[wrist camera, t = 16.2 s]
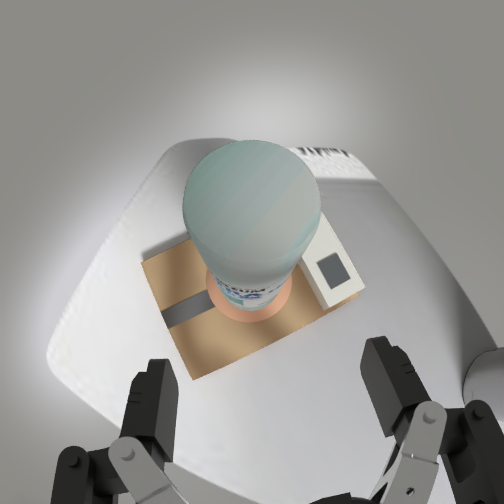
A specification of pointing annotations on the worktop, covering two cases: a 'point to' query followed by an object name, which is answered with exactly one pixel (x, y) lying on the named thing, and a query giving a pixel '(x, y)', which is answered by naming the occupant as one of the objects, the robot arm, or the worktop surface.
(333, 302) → the block
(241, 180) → the spray paint can
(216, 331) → the plywood panel
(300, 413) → the worktop surface
